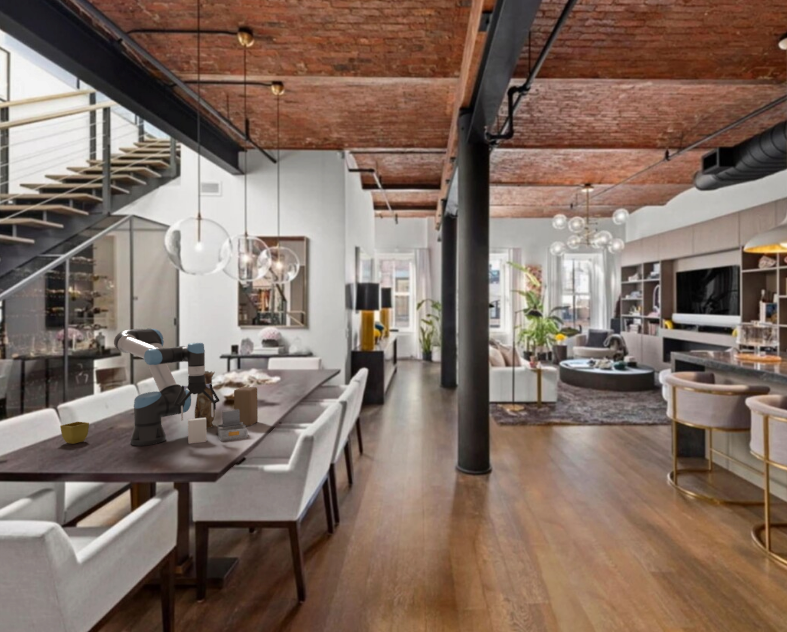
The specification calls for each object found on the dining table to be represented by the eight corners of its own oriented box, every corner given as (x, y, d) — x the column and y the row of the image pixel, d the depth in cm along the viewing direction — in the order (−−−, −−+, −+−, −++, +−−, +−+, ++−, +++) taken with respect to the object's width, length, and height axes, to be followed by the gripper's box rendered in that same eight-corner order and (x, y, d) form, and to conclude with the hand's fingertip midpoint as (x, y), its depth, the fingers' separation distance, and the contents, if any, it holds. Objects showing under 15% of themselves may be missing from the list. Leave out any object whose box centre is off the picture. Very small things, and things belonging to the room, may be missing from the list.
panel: (188, 443, 219) (188, 420, 219) (188, 441, 223) (188, 419, 222) (206, 441, 223) (206, 419, 223) (206, 439, 226) (205, 417, 226)
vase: (202, 423, 258) (201, 370, 257) (219, 424, 256) (218, 370, 255) (190, 428, 248) (189, 373, 247) (208, 429, 245) (207, 373, 245)
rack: (220, 441, 223) (220, 416, 223) (217, 433, 237) (217, 410, 237) (247, 437, 228) (247, 414, 228) (242, 430, 243) (242, 407, 242)
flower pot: (59, 443, 220) (59, 425, 220) (78, 439, 229) (77, 421, 228) (72, 445, 217) (71, 427, 217) (90, 440, 225) (89, 422, 225)
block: (258, 421, 261) (257, 386, 261) (251, 426, 251) (250, 390, 251) (241, 421, 262) (241, 386, 262) (233, 425, 252) (233, 389, 252)
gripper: (168, 377, 213) (169, 423, 213) (224, 373, 224) (225, 416, 225) (168, 375, 220) (169, 419, 220) (223, 371, 231) (223, 413, 231)
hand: (197, 418), depth 222 cm, fingers open, 13 cm apart
